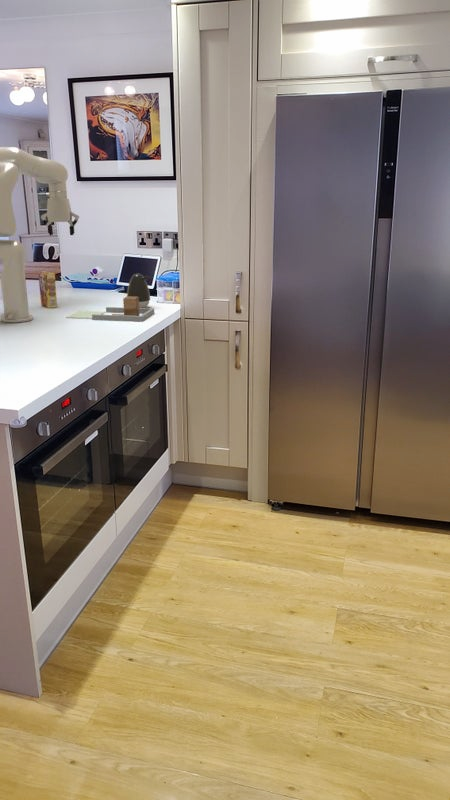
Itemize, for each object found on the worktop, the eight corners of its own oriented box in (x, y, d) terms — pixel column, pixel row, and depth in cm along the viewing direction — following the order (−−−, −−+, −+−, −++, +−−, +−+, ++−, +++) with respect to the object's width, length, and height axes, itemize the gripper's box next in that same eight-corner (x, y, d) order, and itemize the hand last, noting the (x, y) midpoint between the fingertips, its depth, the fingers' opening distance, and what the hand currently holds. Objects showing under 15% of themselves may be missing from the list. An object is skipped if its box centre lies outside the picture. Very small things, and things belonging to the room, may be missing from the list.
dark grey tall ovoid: (146, 310, 273) (145, 275, 269) (124, 309, 275) (122, 274, 270) (153, 306, 283) (152, 272, 278) (132, 305, 285) (130, 271, 280)
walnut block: (135, 318, 257) (134, 298, 255) (110, 317, 259) (109, 297, 256) (139, 315, 262) (138, 296, 259) (114, 314, 264) (113, 295, 261)
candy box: (58, 307, 280) (55, 273, 275) (49, 308, 278) (45, 273, 273) (49, 304, 287) (46, 271, 282) (40, 305, 284) (37, 271, 279)
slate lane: (142, 321, 251) (142, 316, 250) (92, 319, 254) (91, 314, 254) (154, 313, 267) (154, 308, 266) (107, 311, 270) (106, 307, 270)
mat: (93, 318, 256) (93, 318, 256) (66, 317, 258) (66, 317, 258) (105, 312, 269) (105, 311, 269) (79, 311, 271) (79, 310, 271)
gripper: (36, 195, 275) (40, 235, 281) (74, 195, 274) (77, 235, 280) (42, 195, 282) (45, 234, 288) (79, 195, 281) (82, 234, 287)
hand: (61, 235), depth 284 cm, fingers open, 9 cm apart
